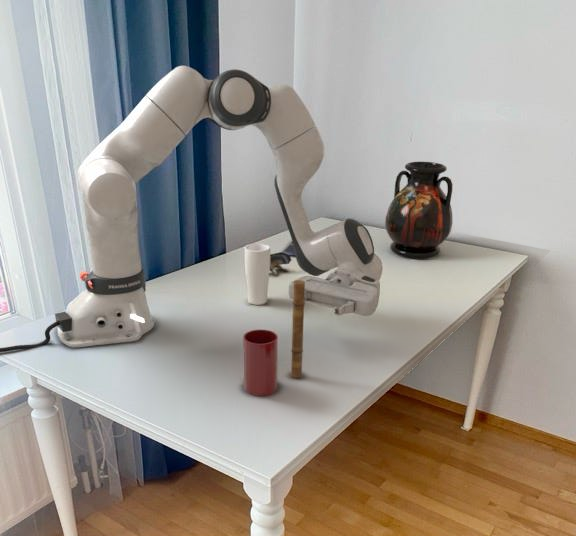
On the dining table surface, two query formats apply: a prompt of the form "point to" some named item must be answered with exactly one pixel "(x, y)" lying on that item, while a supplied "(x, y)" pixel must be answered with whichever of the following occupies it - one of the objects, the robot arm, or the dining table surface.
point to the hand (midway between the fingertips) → (317, 307)
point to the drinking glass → (257, 272)
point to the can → (260, 362)
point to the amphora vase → (420, 212)
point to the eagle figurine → (279, 261)
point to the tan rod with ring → (297, 328)
